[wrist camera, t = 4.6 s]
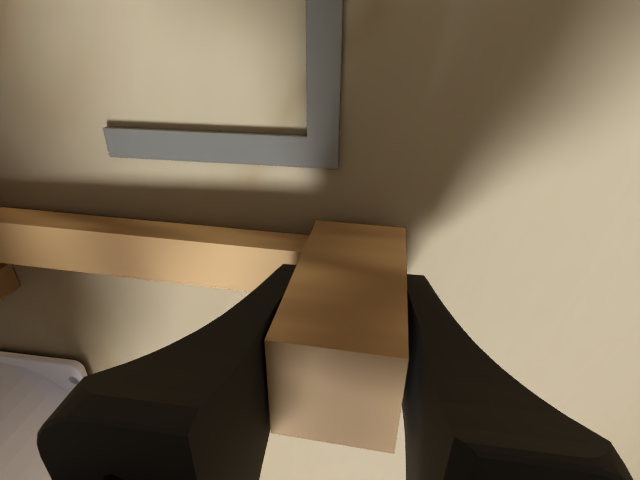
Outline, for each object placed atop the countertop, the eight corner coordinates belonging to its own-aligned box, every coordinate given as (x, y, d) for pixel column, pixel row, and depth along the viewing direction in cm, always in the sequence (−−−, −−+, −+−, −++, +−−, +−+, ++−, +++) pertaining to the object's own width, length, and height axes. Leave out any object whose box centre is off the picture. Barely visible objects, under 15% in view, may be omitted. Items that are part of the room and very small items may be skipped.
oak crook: (-63, 249, 18) (-257, 344, 12) (-175, 27, 14) (-533, 29, 8) (396, 301, 15) (394, 453, 10) (429, 37, 11) (456, 51, 5)
